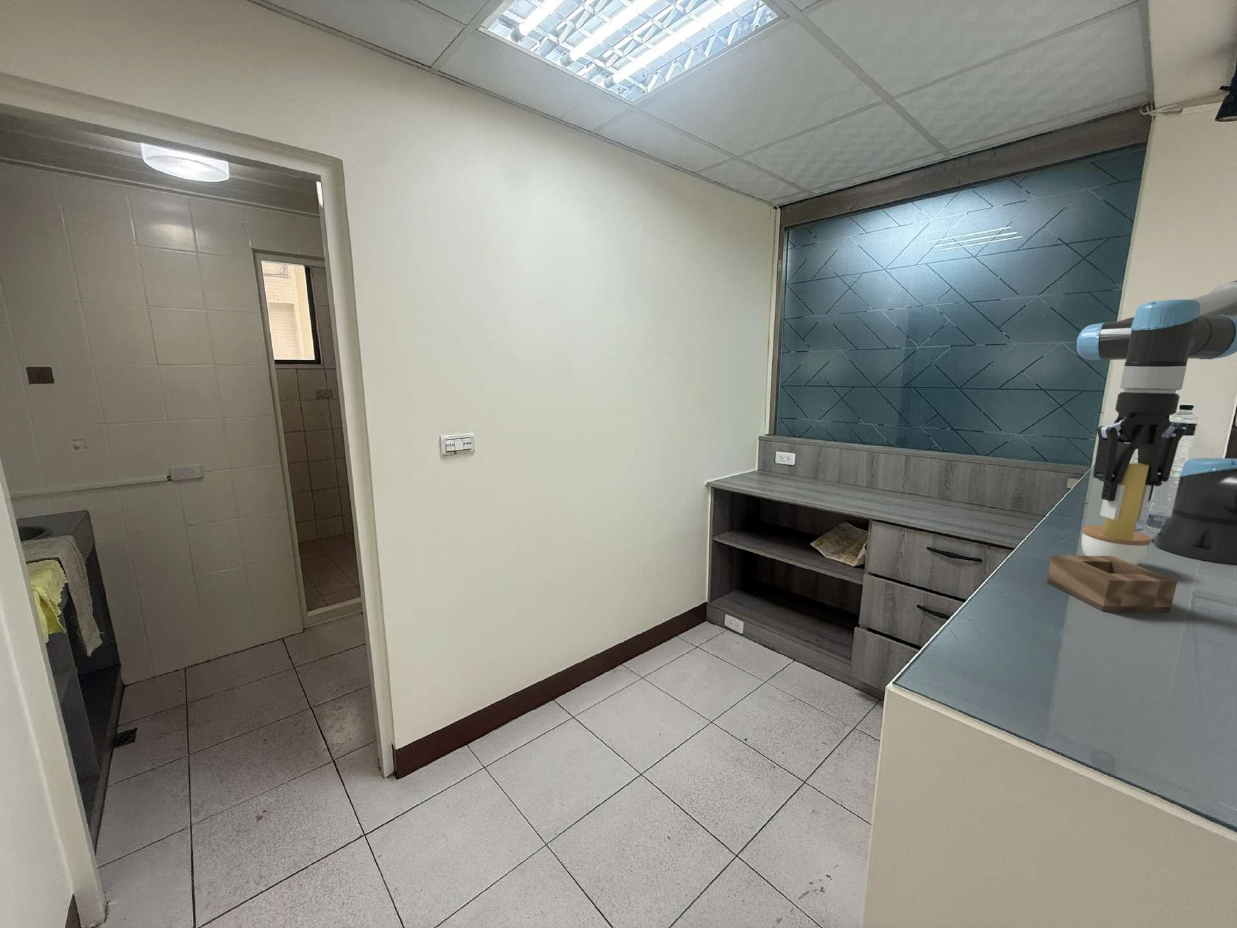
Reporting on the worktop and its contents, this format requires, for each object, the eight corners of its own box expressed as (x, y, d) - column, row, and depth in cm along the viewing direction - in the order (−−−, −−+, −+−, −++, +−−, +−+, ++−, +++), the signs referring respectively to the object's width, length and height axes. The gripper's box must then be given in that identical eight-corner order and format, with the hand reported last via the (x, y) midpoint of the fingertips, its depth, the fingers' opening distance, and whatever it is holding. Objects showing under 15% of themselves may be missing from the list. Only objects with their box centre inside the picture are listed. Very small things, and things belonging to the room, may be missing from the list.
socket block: (1106, 583, 100) (1112, 556, 99) (1169, 612, 88) (1177, 581, 87) (1046, 582, 100) (1051, 555, 99) (1102, 611, 88) (1108, 580, 87)
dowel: (1117, 533, 94) (1133, 461, 91) (1139, 540, 90) (1155, 466, 87) (1096, 533, 94) (1111, 461, 91) (1117, 540, 90) (1133, 465, 87)
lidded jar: (1113, 557, 114) (1121, 519, 113) (1158, 576, 104) (1168, 534, 102) (1064, 555, 115) (1071, 517, 114) (1103, 574, 105) (1112, 532, 103)
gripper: (1174, 391, 90) (1147, 512, 95) (1081, 390, 91) (1058, 511, 95) (1222, 393, 83) (1190, 524, 87) (1120, 391, 83) (1093, 522, 88)
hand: (1121, 517), depth 91 cm, fingers closed on dowel, 4 cm apart
